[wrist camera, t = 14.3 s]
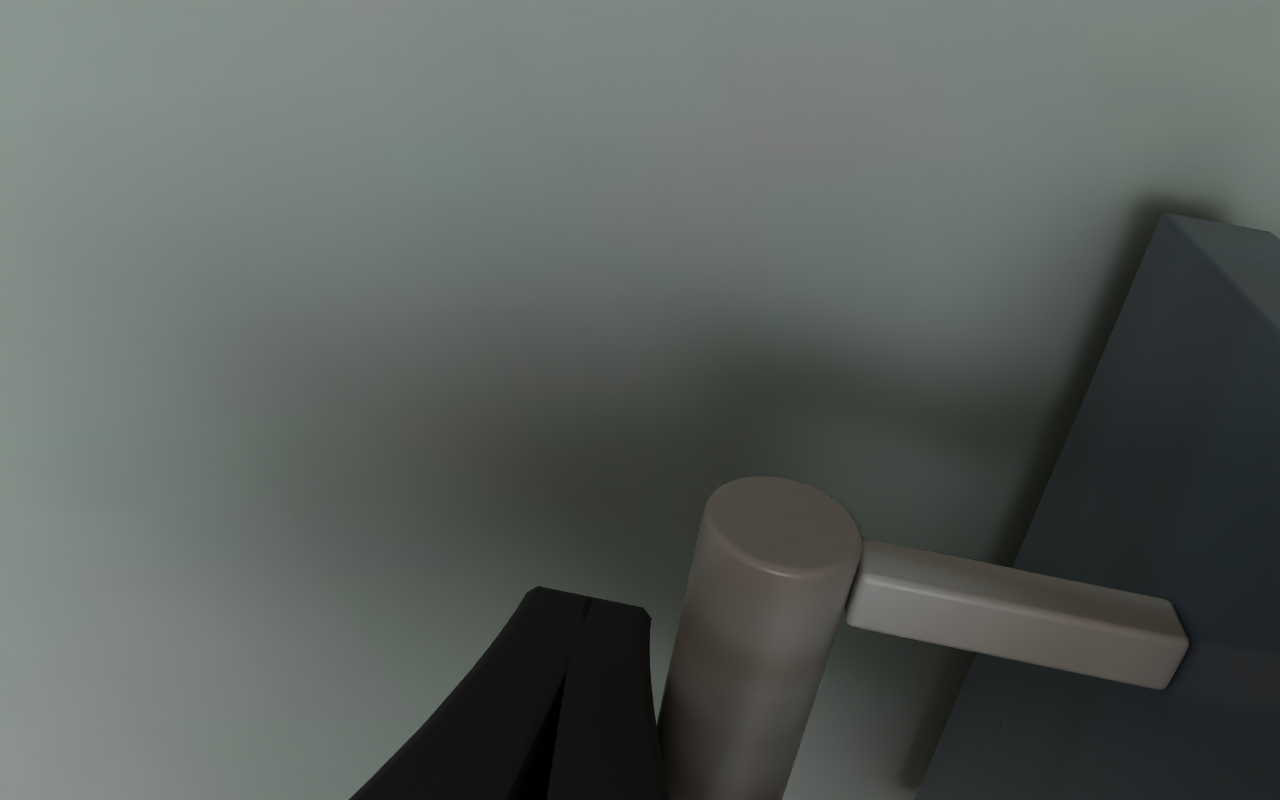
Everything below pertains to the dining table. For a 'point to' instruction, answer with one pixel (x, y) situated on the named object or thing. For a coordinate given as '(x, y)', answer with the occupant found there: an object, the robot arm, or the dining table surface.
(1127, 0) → the dining table surface
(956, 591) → the drawer
